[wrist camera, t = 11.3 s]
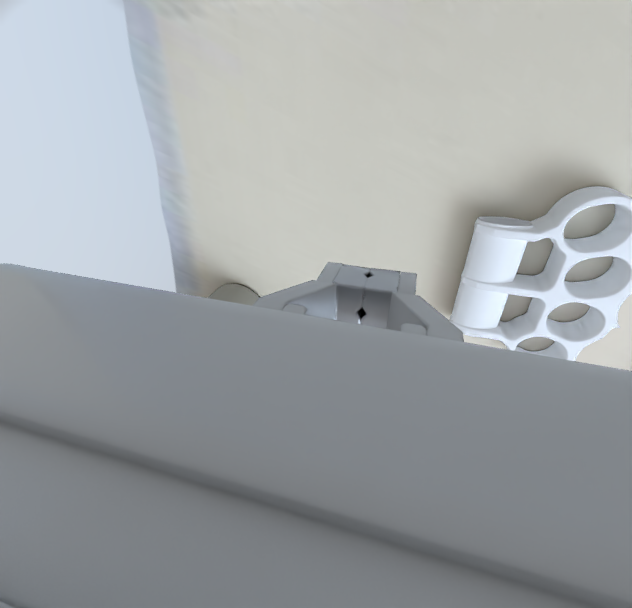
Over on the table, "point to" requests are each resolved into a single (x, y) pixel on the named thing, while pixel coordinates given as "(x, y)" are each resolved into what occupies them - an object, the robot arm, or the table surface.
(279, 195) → the table surface
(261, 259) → the table surface
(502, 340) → the knuckle duster
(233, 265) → the table surface
